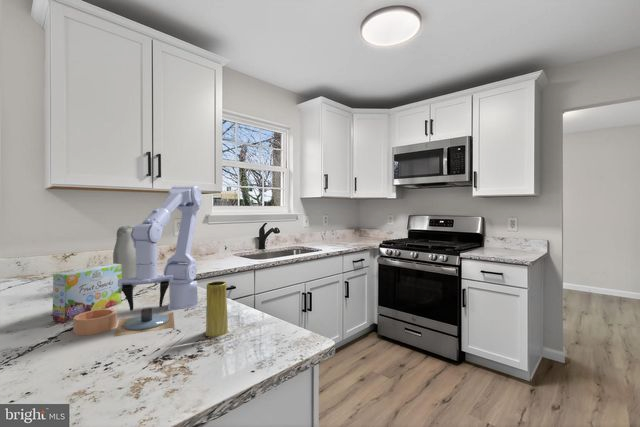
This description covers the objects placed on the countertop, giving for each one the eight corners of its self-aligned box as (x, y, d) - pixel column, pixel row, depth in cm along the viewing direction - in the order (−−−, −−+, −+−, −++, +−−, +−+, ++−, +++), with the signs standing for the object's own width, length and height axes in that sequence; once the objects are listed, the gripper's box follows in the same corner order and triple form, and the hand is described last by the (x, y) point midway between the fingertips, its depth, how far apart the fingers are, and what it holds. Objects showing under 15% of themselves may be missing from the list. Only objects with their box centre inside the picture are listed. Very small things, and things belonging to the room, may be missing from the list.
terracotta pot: (118, 321, 97) (118, 307, 97) (114, 332, 88) (113, 316, 88) (79, 326, 93) (78, 311, 93) (69, 339, 84) (69, 322, 84)
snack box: (66, 323, 96) (66, 274, 96) (51, 321, 97) (51, 273, 97) (122, 303, 117) (122, 263, 117) (110, 302, 118) (109, 262, 118)
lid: (168, 314, 103) (168, 301, 103) (168, 326, 92) (168, 311, 92) (125, 319, 97) (125, 306, 97) (121, 333, 87) (120, 318, 87)
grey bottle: (125, 285, 144) (125, 225, 144) (145, 286, 143) (145, 225, 143) (108, 291, 134) (107, 226, 134) (129, 292, 133) (129, 226, 133)
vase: (206, 339, 83) (206, 286, 83) (203, 332, 89) (203, 282, 89) (230, 335, 86) (229, 284, 86) (225, 328, 92) (225, 280, 92)
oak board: (173, 313, 105) (173, 312, 105) (174, 328, 91) (174, 327, 91) (120, 320, 98) (120, 319, 98) (113, 338, 85) (113, 336, 85)
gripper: (116, 266, 88) (116, 315, 88) (173, 263, 94) (173, 308, 94) (119, 263, 94) (119, 308, 94) (172, 260, 101) (172, 302, 101)
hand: (146, 307), depth 95 cm, fingers open, 7 cm apart
